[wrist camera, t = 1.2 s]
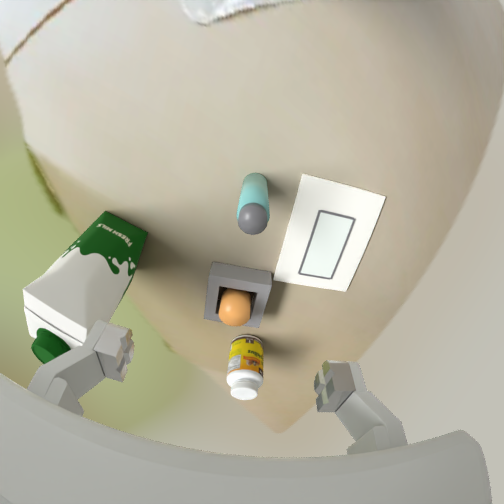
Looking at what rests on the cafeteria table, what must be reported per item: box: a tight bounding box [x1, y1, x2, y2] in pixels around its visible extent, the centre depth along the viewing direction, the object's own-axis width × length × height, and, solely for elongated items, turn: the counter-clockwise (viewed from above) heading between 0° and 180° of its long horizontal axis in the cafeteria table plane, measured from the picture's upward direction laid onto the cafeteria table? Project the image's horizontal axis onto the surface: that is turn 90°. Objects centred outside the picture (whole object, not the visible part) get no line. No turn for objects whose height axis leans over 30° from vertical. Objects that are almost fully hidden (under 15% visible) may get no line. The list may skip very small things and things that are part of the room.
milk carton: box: [23, 211, 148, 364], centre depth 27 cm, size 9×9×20 cm
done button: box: [219, 288, 251, 326], centre depth 36 cm, size 4×4×3 cm
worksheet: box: [273, 173, 386, 292], centre depth 34 cm, size 15×11×1 cm
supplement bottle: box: [227, 335, 263, 400], centre depth 41 cm, size 6×6×10 cm
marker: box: [237, 173, 270, 235], centre depth 27 cm, size 3×3×10 cm
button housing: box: [204, 262, 272, 328], centre depth 38 cm, size 8×8×3 cm
